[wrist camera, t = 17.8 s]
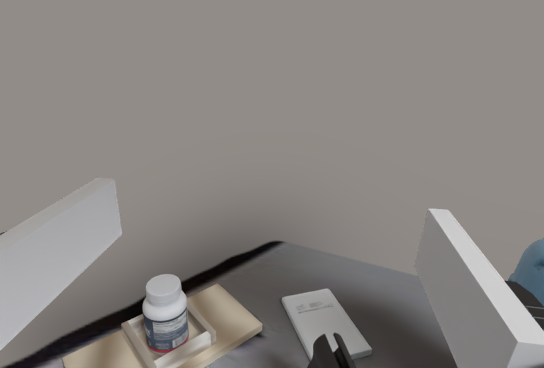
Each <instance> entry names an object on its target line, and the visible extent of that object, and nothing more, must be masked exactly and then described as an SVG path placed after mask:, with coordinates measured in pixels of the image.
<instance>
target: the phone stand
mask: <svg viewBox="0 0 544 368" xmlns="http://www.w3.org/2000/svg"><path fill="white" fill-rule="evenodd" d="M333 336H334V338H335V340H336V343H337V345H338V348H337V349H336V350H335V351H334V352H332V349H331V347H330V344H329V342H328V340H327V337H326V335H325V334H323V335H321V336H320V337H318V338H317V339H316V340H315V342H314V344H313V357H312V360H311V362H310V363H309V365H308V367H307V368H356V366H355V364H354V362H353V360H352V358H351V356H350V354H349V352H348V349H347V347H346V345H345V343H344V341H343V339H342V337H341V336H340V335H339V334H338V333H334V334H333Z"/></svg>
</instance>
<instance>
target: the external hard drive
mask: <svg viewBox="0 0 544 368" xmlns="http://www.w3.org/2000/svg"><path fill="white" fill-rule="evenodd" d="M282 304H283V306H284V308H285V310H286V312H287V314H288V316H289V318H290V320H291V322H292V324H293V326H294V329H295V331H296V333H297V335H298V337H299V339H300V341H301V343H302V345H303V347H304V349H305V351H306V353H307V355H308V357H309V359H310V361H311V360H312V357H313V344H314V342H315V340H316V339H317V338H318V337H320V336H321V335H323V334H325V335H326V337H327V340H328V342H329V344H330V347H331V349H332V352H334V351H335V350H336V349H337V348H338V345H337V343H336V340H335V338H334V336H333V334H334V333H338V334H339V335H340V336H341V337H342V339H343V341H344V343H345V345H346V347H347V349H348V352H349V354H350V356H351V358H352V360H353V359H357V358H361V357H364V356H368V355H372V349H371V347H370V346H369V344H368V343H367V342H366V340H365V339H364V337H363V336H362V335H361V333H360V332H359V330H358V329H357V328H356V326H355V325H354V323H353V322H352V320H351V319H350V318H349V316H348V315H347V313H346V312H345V311H344V309H343V308H342V306H341V305H340V304H339V302H338V301H337V299H336V298H335V297H334V295H333V294H332V292H331V291H330V289H322V290H317V291H312V292H307V293H301V294H296V295H291V296H286V297H283V298H282Z"/></svg>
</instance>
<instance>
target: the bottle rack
mask: <svg viewBox="0 0 544 368" xmlns="http://www.w3.org/2000/svg"><path fill="white" fill-rule="evenodd" d="M187 311H188V325H189V339H188V342H187V343H185V344H183V345H181V346H180V347H178V348H176V349H174V350H173V351H171V352H169V353H167V354H166V355H164V356H162V355H157V354H154V353H153V352H151V351H150V350H149V348H148V346H147V341H146V333H145V325H144V317H143V314H141V315H139V316H137V317H135V318H133V319H131V320H129V321H126V322H124V323H122V324H121V327H122V329H121V330H119V331H117V332H115V333H113V334H111V335H109V336H107V337H105V338H102V339H100V340H98V341H96V342H94V343H92V344H90V345H88V346H86V347H84V348H82V349H79V350H77V351H75V352H73V353H71V354H69V355H67V356H65V357H63V358H62V360H63V364H64V367H65V368H205V367H206V366H208V365H209V364H211V363H212V362H214V361H215V360H217V359H219V358H220V357H222V356H223V355H225V354H226V353H228V352H229V351H231V350H233V349H234V348H236V347H237V346H239V345H240V344H242V343H243V342H245V341H247V340H248V339H250V338H251V337H253V336H254V335H256V334H257V333H259V332H261V331H262V323H261V322H260V321H259V320H258V319H256V318H255V317H254V316H253V315H252V314H251V313H250V312H249V311H248V310H247V309H245V308H244V307H243V306H242V305H241V304H240V303H239V302H238V301H237V300H236V299H235V298H233V297H232V296H231V295H230V294H229V293H228V292H227V291H226V290H225V289H224V288H222V287H221V286H220V285H219V284H218V283H217V284H215V285H213V286H211V287H209V288H207V289H205V290H203V291H201V292H199V293H197V294H194V295H192V296H190V297H188V298H187Z"/></svg>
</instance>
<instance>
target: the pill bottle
mask: <svg viewBox="0 0 544 368" xmlns="http://www.w3.org/2000/svg"><path fill="white" fill-rule="evenodd" d="M143 317H144V325H145V333H146V341H147V346H148V348H149V350H150V351H151V352H153V353H154V354H157V355H162V356H164V355H166V354H167V353H169V352H171V351H173V350H174V349H176V348H178V347H180V346H181V345H183V344H185V343H187V342H188V339H189V325H188V311H187V298H186V295H185V293H184V292H183V291H182V290H181V281H180V280H179V278H178V277H177V276H175V275H172V274H162V275H158V276H155V277H153V278H152V279H151V280H150V281H148V283H147V285H146V298H145V300H144V302H143Z"/></svg>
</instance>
